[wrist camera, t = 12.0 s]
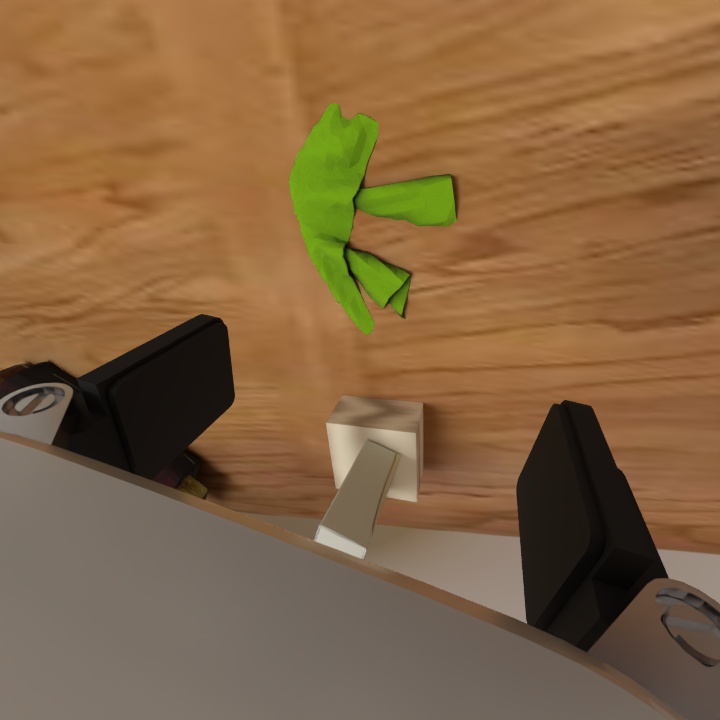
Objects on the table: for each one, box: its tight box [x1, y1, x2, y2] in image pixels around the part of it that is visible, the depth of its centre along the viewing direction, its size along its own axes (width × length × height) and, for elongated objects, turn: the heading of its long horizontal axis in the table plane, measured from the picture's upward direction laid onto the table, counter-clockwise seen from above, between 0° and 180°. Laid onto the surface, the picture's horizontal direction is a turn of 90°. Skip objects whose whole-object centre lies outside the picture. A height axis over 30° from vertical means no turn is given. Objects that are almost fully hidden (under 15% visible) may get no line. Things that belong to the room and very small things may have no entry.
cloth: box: [289, 104, 457, 335], centre depth 34 cm, size 20×22×2 cm
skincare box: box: [314, 440, 401, 559], centre depth 35 cm, size 6×4×12 cm
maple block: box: [326, 395, 423, 502], centre depth 43 cm, size 10×10×6 cm
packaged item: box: [0, 362, 209, 500], centre depth 57 cm, size 39×10×10 cm, turn 61°
